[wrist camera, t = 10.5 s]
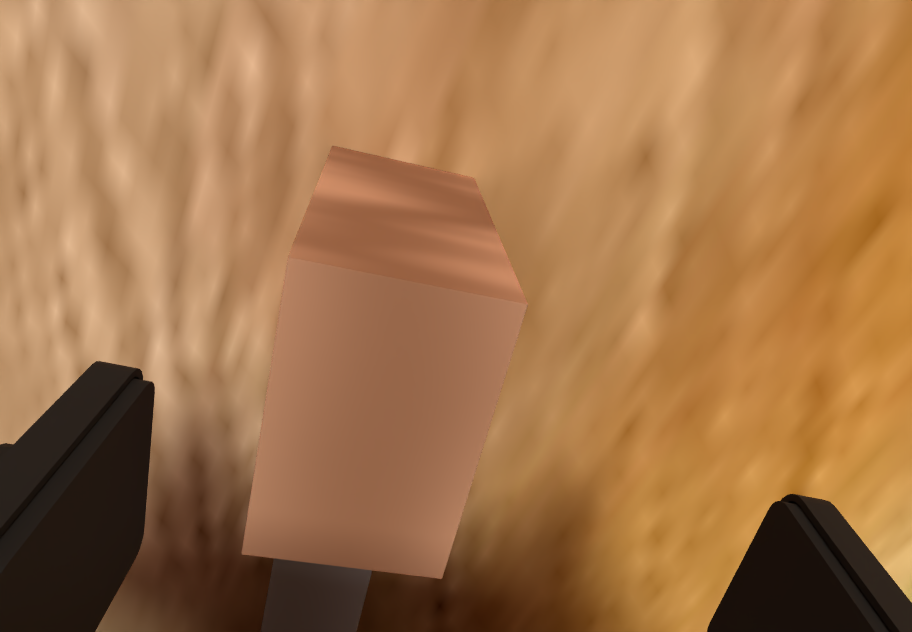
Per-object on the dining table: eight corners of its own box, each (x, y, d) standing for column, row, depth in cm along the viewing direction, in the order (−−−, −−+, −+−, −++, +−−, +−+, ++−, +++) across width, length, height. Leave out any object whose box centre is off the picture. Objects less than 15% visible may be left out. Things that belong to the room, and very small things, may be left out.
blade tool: (532, 191, 16) (624, 323, 10) (376, 722, 23) (369, 996, 17) (267, 130, 15) (173, 233, 9) (190, 706, 22) (108, 992, 16)
